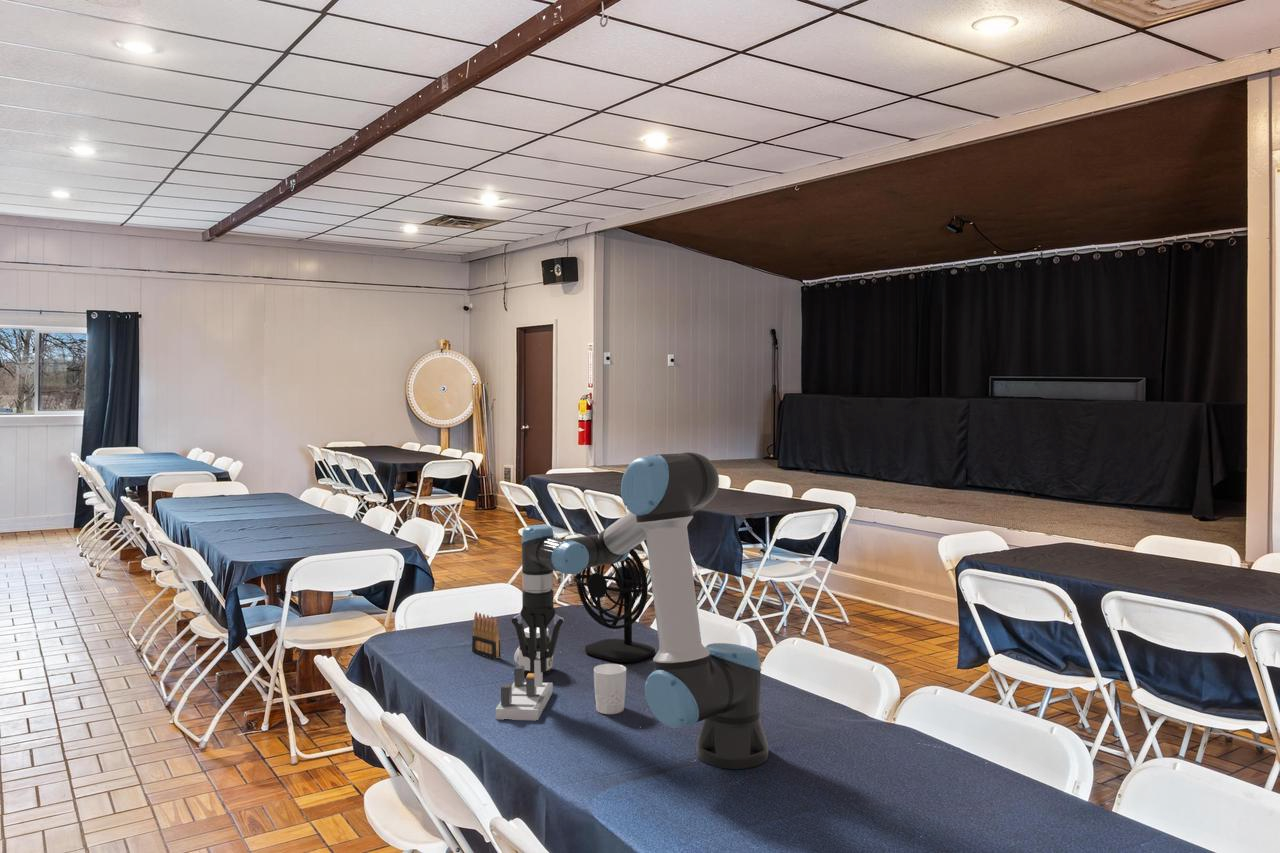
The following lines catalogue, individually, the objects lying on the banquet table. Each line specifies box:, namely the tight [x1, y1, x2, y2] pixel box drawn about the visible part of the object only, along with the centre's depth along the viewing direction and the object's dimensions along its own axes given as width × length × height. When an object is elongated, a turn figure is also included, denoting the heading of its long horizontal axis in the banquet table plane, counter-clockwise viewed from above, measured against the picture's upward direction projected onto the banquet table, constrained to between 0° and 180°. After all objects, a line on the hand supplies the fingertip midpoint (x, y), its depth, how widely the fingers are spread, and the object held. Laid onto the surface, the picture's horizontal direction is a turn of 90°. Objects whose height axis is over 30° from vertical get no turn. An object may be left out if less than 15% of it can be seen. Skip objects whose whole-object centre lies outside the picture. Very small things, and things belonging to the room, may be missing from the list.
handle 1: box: [500, 683, 513, 706], centre depth 213 cm, size 2×2×4 cm
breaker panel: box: [495, 681, 554, 721], centre depth 220 cm, size 19×10×3 cm, turn 175°
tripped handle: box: [525, 673, 537, 696], centre depth 220 cm, size 2×2×5 cm
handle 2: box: [513, 664, 525, 686], centre depth 227 cm, size 2×2×4 cm
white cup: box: [593, 663, 627, 715], centre depth 217 cm, size 8×8×10 cm
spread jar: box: [513, 626, 554, 676], centre depth 247 cm, size 12×11×12 cm
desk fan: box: [573, 548, 656, 663], centre depth 261 cm, size 27×18×35 cm, turn 50°
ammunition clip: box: [471, 611, 501, 660], centre depth 261 cm, size 11×2×12 cm, turn 49°
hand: (538, 684), depth 220 cm, fingers closed
